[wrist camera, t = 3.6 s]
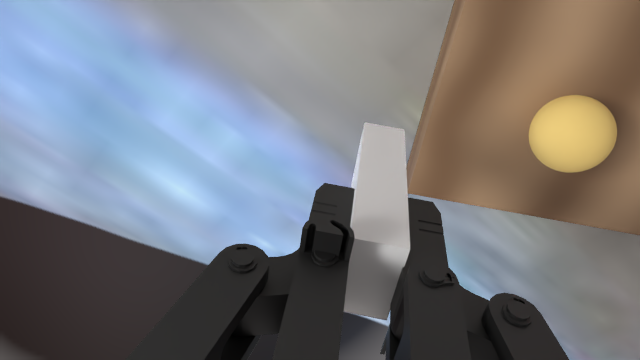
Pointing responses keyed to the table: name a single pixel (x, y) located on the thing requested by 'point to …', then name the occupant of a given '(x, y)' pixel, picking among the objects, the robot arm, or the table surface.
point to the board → (531, 109)
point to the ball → (572, 133)
